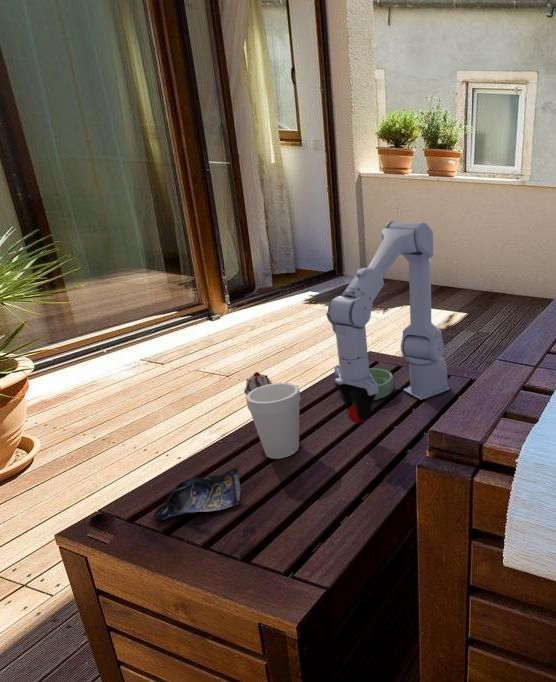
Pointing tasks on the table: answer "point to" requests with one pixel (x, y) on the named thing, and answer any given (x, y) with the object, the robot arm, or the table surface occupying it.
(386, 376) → the bowl
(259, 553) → the table surface
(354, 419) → the tomato
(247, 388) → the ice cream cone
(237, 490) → the snack package
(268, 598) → the table surface
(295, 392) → the foam cup
